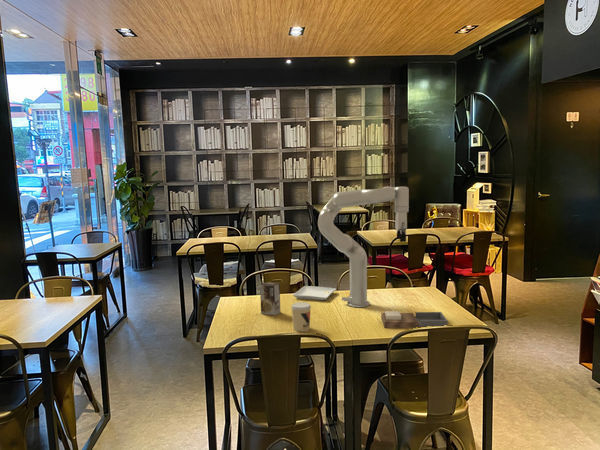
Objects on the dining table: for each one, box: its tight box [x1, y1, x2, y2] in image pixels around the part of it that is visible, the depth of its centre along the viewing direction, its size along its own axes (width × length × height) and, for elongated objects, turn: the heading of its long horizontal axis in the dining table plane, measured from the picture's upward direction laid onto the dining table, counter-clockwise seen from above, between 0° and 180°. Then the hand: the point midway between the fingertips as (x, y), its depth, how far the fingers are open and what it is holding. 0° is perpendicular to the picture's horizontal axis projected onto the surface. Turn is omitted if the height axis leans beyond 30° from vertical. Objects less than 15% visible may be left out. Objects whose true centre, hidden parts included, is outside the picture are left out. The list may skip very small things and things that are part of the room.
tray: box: [414, 311, 449, 328], centre depth 235 cm, size 14×14×4 cm
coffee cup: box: [291, 301, 312, 332], centre depth 231 cm, size 9×9×12 cm
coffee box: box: [259, 281, 281, 316], centre depth 256 cm, size 9×6×16 cm
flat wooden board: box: [380, 312, 419, 329], centre depth 236 cm, size 16×14×3 cm
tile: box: [384, 310, 401, 320], centre depth 236 cm, size 7×7×2 cm
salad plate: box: [292, 285, 337, 301], centre depth 288 cm, size 21×21×3 cm
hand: (401, 240), depth 263 cm, fingers open, 9 cm apart
